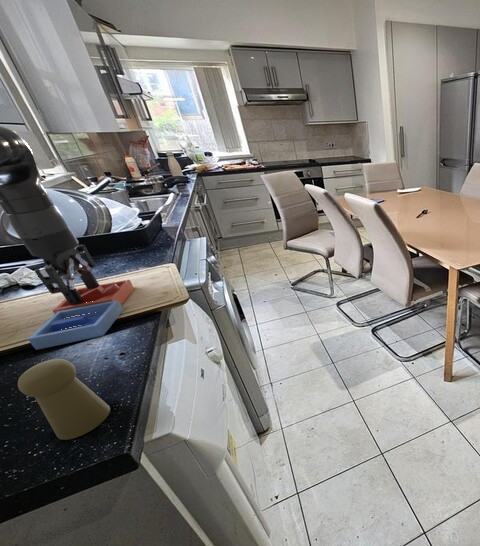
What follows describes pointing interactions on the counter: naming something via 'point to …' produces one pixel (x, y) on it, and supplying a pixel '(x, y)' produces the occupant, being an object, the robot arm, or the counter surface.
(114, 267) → the counter surface
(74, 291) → the robot arm
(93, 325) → the blue bin
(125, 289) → the red bin
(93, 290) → the red block
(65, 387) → the cork
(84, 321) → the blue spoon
